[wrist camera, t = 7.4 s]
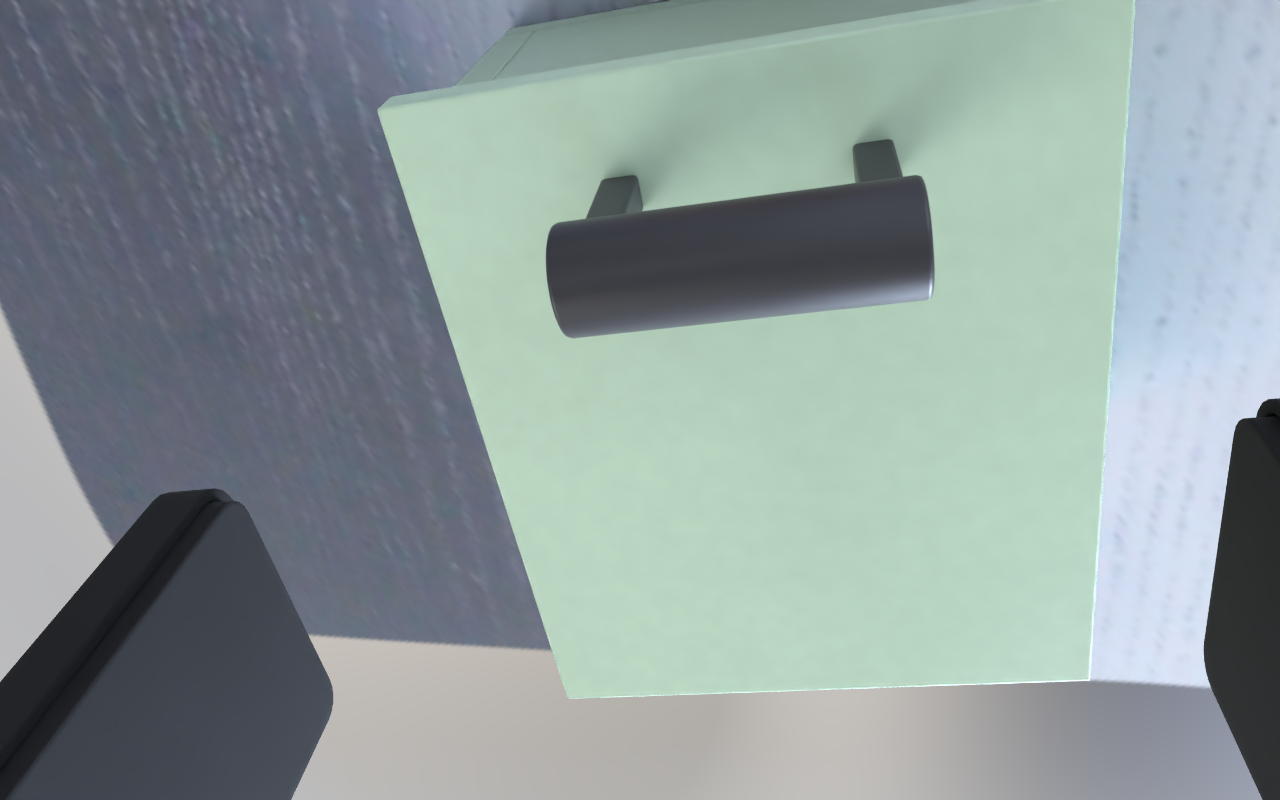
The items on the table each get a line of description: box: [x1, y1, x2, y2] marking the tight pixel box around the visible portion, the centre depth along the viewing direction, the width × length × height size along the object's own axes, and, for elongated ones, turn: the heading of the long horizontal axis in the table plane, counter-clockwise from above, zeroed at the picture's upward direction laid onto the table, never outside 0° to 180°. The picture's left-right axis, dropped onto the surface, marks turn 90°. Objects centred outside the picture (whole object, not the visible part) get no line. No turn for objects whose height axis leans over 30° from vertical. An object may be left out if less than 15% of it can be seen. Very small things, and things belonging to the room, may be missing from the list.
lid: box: [378, 0, 1136, 699], centre depth 19 cm, size 16×13×5 cm
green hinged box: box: [455, 0, 980, 86], centre depth 26 cm, size 15×13×9 cm
